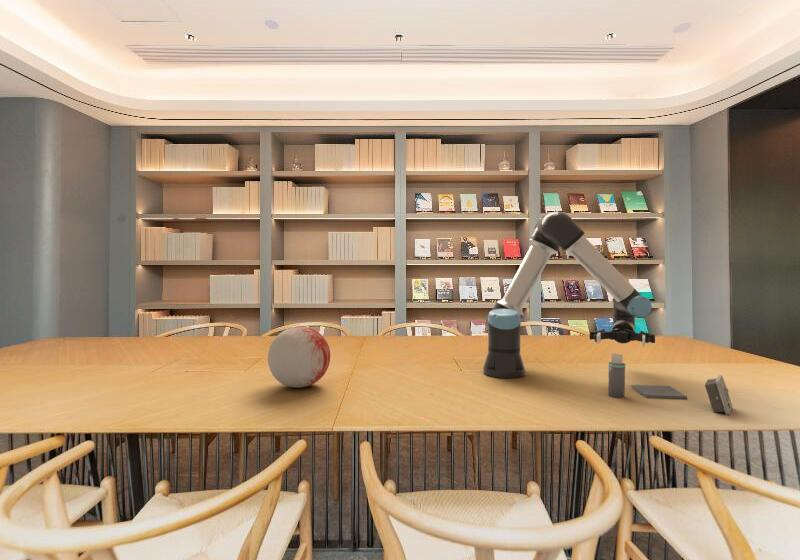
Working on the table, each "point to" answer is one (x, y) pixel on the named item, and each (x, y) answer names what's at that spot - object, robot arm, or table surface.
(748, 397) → the table surface
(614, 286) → the robot arm
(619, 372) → the trash can
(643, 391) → the pad
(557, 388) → the table surface
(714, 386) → the electrical switch
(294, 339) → the decorative orb
